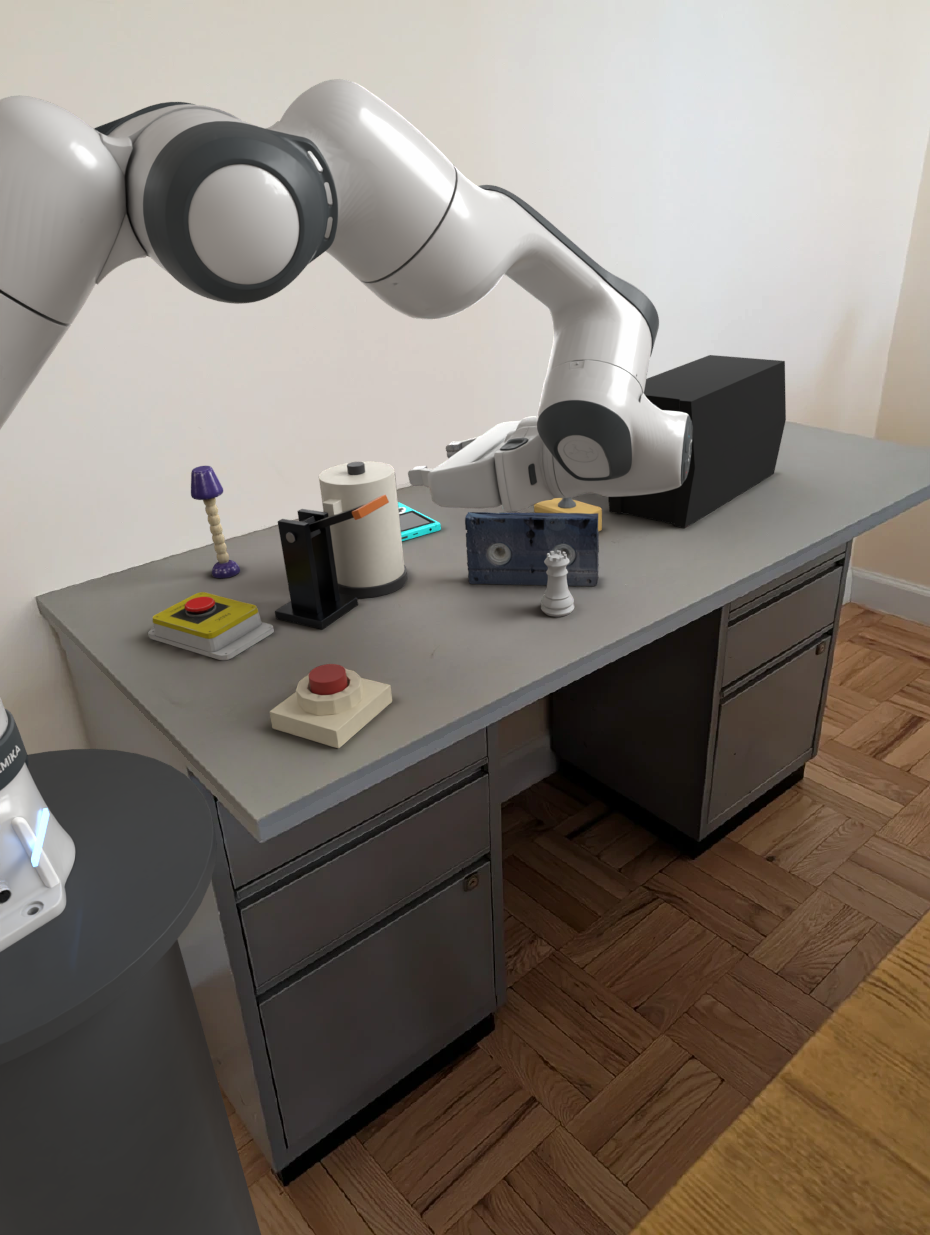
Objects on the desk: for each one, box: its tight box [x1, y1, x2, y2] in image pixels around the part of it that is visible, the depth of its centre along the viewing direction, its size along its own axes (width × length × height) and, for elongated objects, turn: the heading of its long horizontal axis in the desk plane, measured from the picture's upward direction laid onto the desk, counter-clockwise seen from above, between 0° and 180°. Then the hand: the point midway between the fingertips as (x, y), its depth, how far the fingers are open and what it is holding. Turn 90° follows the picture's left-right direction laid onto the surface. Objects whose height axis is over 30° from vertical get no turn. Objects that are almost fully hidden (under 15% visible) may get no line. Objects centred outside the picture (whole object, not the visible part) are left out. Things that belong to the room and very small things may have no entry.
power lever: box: [300, 495, 389, 538], centre depth 113 cm, size 14×6×2 cm, turn 60°
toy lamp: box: [190, 465, 241, 579], centre depth 133 cm, size 5×5×17 cm
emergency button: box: [147, 591, 275, 661], centre depth 117 cm, size 9×4×15 cm
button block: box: [269, 668, 393, 749], centre depth 98 cm, size 10×9×4 cm
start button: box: [308, 663, 348, 695], centre depth 97 cm, size 4×4×2 cm
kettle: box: [318, 460, 408, 599], centre depth 126 cm, size 14×11×18 cm
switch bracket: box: [274, 508, 359, 630], centre depth 119 cm, size 8×8×14 cm
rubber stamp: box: [533, 498, 603, 532], centre depth 142 cm, size 10×6×12 cm, turn 41°
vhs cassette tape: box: [464, 511, 600, 587], centre depth 124 cm, size 18×3×10 cm, turn 78°
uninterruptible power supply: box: [607, 354, 787, 529], centre depth 152 cm, size 16×34×20 cm, turn 138°
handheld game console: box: [398, 501, 442, 542], centre depth 150 cm, size 10×16×1 cm, turn 33°
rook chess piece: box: [540, 551, 575, 618], centre depth 116 cm, size 4×4×8 cm
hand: (430, 462), depth 103 cm, fingers open, 8 cm apart
